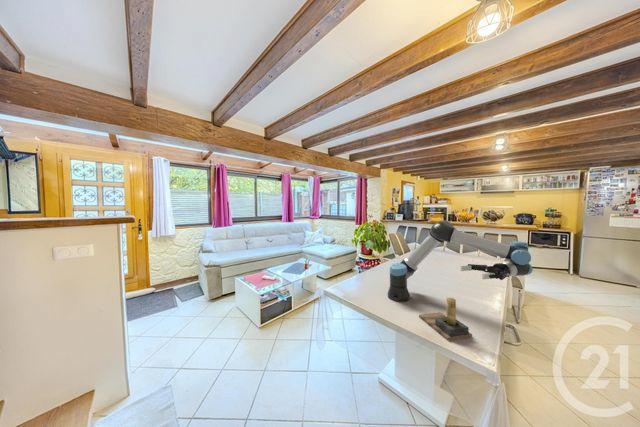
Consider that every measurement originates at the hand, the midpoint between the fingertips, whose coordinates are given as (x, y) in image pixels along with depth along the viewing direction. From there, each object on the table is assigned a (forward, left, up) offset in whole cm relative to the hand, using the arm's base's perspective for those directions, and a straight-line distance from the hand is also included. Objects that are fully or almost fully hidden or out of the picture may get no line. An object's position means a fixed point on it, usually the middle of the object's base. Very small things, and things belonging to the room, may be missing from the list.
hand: (471, 272), depth 115 cm
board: (-1, -16, -29) cm, 33 cm away
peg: (+4, -16, -28) cm, 32 cm away
